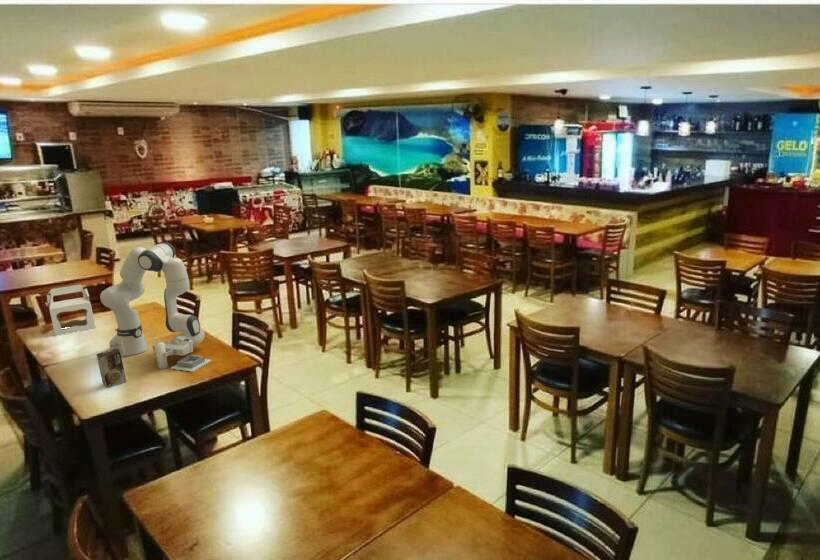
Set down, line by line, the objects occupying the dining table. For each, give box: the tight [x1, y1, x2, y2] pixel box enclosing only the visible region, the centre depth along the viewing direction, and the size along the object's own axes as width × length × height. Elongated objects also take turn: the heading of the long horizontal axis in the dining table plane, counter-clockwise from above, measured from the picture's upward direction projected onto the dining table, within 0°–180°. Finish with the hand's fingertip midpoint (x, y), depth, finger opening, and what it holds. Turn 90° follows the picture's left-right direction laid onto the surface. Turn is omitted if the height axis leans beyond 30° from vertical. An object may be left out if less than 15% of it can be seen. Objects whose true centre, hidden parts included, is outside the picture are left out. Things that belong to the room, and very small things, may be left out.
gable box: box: [46, 283, 96, 337], centre depth 345 cm, size 22×13×28 cm, turn 124°
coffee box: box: [96, 349, 127, 389], centre depth 267 cm, size 9×6×16 cm
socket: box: [170, 354, 213, 373], centre depth 286 cm, size 14×14×4 cm
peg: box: [153, 341, 169, 370], centre depth 284 cm, size 5×5×13 cm
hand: (159, 354), depth 283 cm, fingers closed on peg, 5 cm apart
